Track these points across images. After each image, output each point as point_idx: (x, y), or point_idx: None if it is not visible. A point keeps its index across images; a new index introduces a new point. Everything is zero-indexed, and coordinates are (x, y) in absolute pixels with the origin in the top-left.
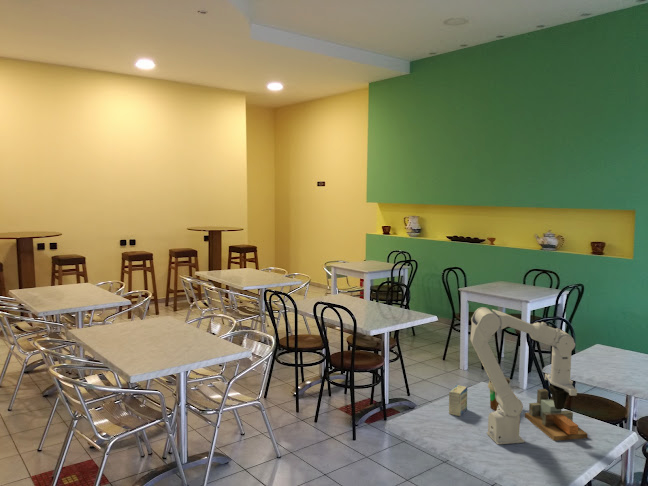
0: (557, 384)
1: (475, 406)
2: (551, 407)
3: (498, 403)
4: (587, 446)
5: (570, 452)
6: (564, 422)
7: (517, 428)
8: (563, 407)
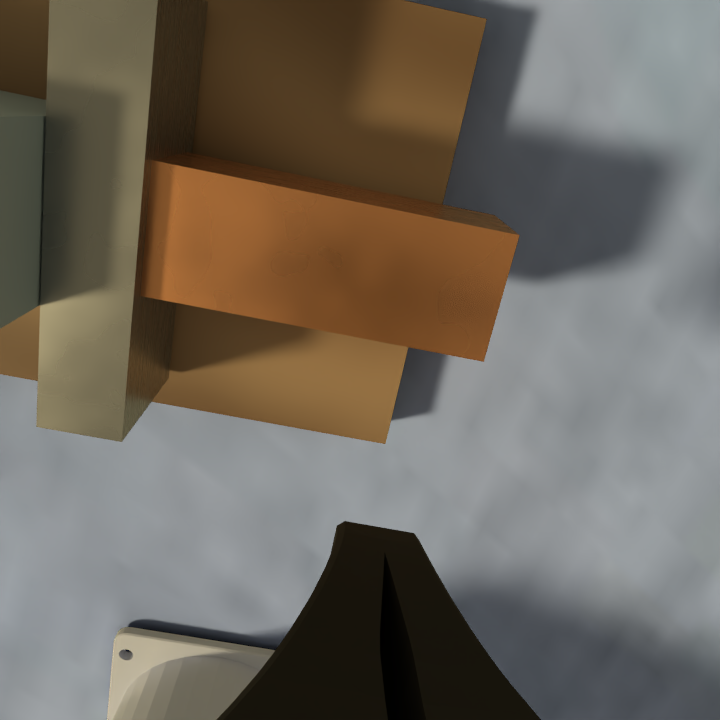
0: None
1: None
2: (4, 309)
3: None
4: (612, 195)
5: (614, 442)
6: (369, 339)
7: None
8: (419, 543)
